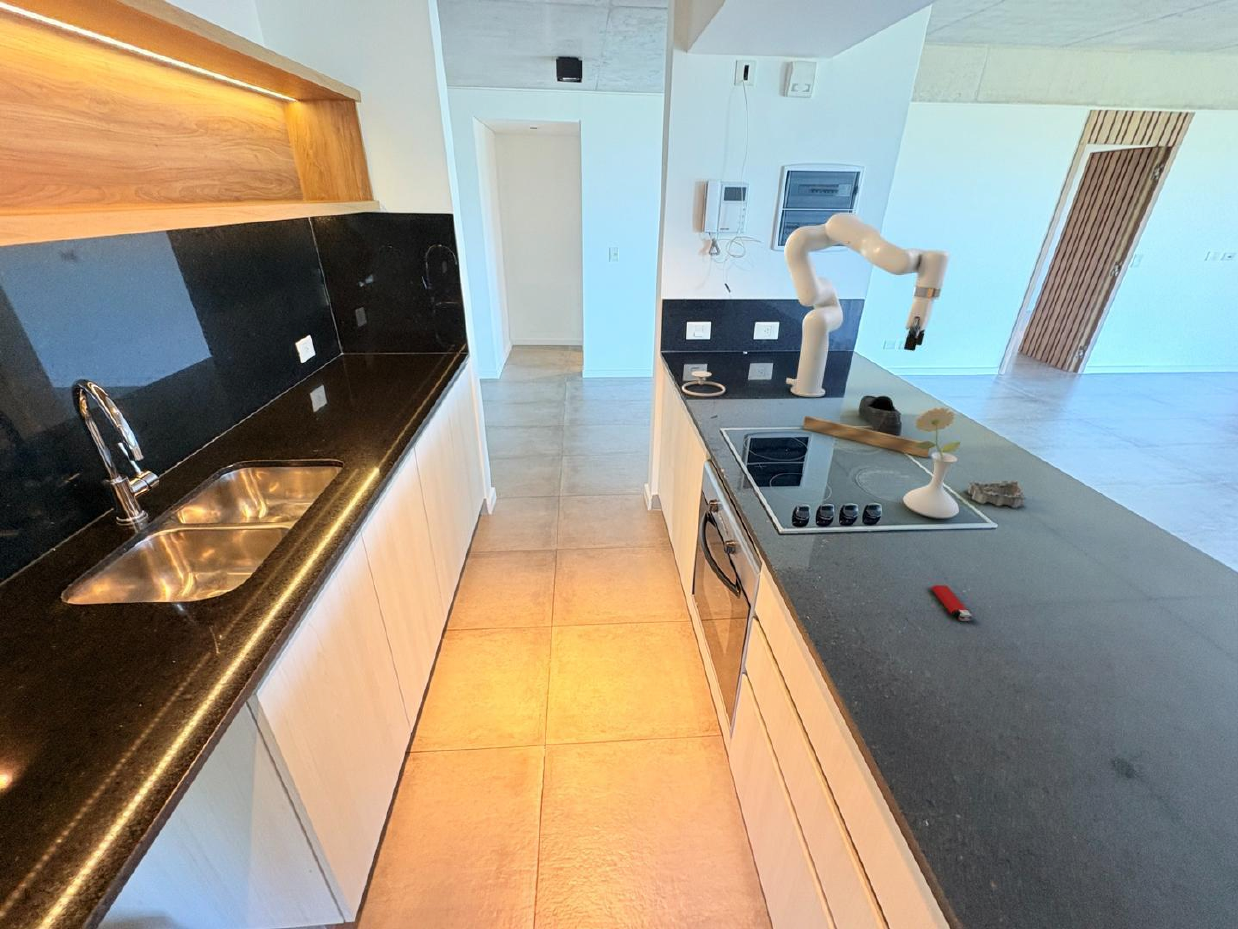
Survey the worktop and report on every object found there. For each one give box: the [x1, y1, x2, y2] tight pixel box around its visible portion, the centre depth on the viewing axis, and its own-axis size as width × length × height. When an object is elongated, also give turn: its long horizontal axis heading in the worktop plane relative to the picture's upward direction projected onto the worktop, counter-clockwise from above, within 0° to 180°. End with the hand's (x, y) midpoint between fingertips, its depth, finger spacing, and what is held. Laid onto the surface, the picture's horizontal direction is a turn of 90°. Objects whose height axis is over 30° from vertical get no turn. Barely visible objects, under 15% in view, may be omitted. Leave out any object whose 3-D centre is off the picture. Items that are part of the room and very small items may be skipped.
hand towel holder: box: [681, 370, 726, 398], centre depth 207 cm, size 17×4×21 cm
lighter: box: [931, 584, 973, 622], centre depth 93 cm, size 3×1×8 cm
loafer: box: [858, 395, 903, 437], centre depth 171 cm, size 10×29×10 cm, turn 174°
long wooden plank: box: [802, 415, 930, 458], centre depth 159 cm, size 36×1×4 cm, turn 51°
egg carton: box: [967, 480, 1027, 509], centre depth 127 cm, size 11×8×4 cm
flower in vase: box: [902, 407, 961, 519], centre depth 118 cm, size 13×11×25 cm
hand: (912, 347), depth 173 cm, fingers open, 9 cm apart
